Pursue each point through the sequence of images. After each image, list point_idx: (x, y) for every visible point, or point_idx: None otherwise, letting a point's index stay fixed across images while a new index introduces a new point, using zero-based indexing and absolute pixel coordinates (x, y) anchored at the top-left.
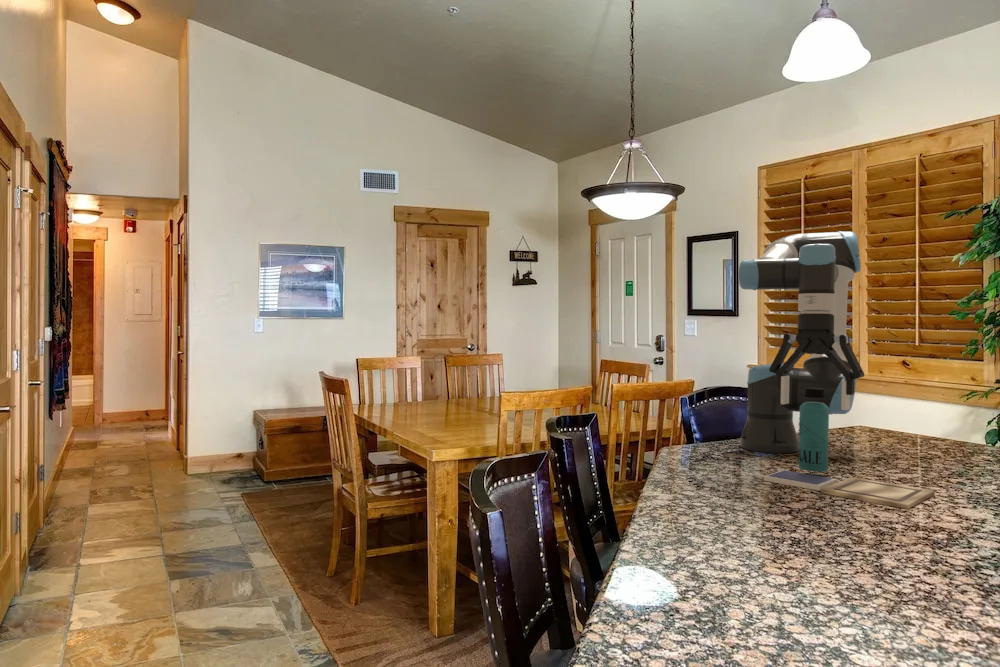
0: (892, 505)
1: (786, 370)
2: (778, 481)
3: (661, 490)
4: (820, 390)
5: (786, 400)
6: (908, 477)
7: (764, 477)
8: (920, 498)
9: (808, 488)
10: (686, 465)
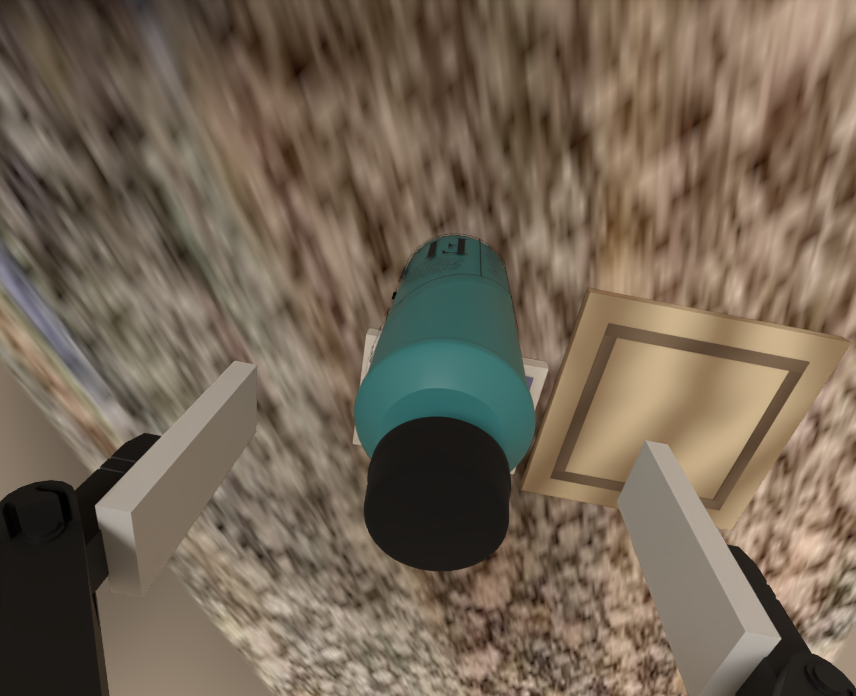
0: None
1: (97, 625)
2: None
3: (228, 612)
4: (489, 552)
5: (246, 410)
6: (819, 64)
7: (354, 441)
8: (778, 454)
9: None
10: (90, 373)
